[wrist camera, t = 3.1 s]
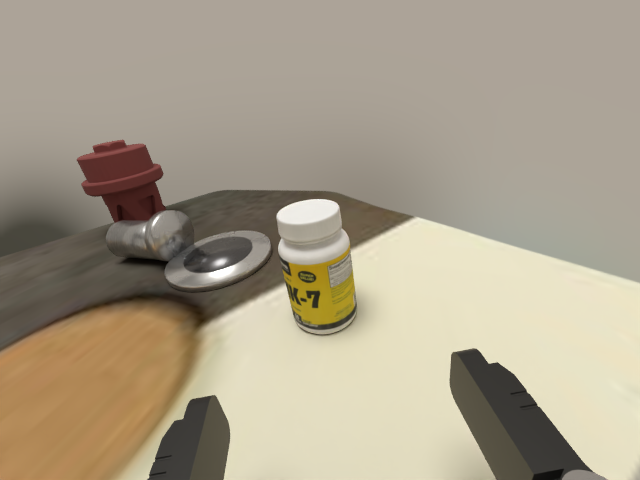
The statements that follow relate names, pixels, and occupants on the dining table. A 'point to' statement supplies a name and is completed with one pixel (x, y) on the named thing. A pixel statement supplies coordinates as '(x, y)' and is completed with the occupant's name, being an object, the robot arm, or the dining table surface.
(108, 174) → the mechanical component
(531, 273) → the dining table surface
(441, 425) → the dining table surface
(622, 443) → the dining table surface
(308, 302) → the supplement bottle
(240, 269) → the flange fitting
